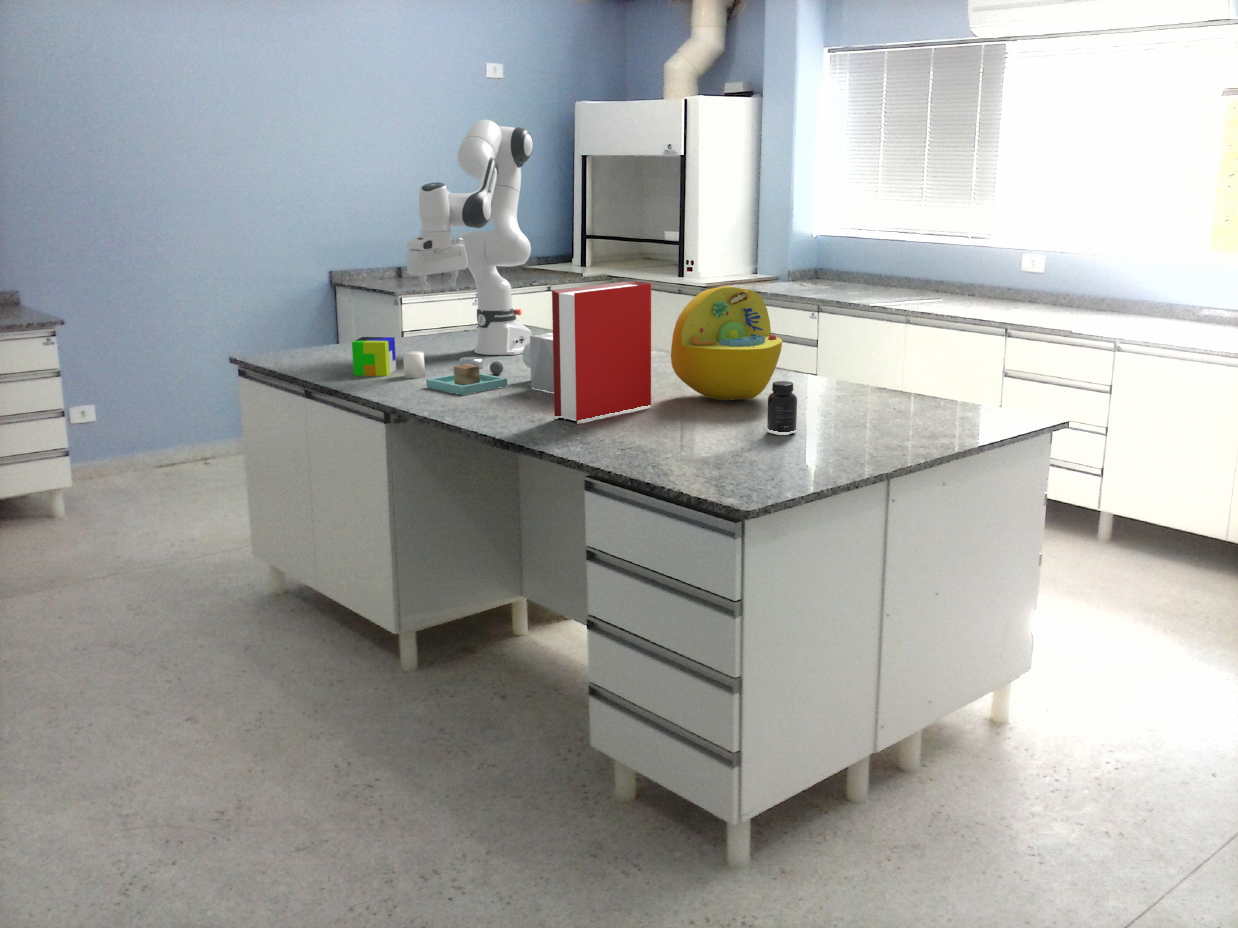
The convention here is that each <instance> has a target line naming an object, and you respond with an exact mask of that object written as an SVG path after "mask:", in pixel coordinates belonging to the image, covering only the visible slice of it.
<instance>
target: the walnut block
mask: <svg viewBox="0 0 1238 928" xmlns="http://www.w3.org/2000/svg"><path fill="white" fill-rule="evenodd" d="M479 373H480V369H479V366H476V365H470V364H465V365H460V364H459V365H454V366H453V374H454V384H458V385H462V386H465V385H470V384H475V383H480V377H479Z"/></svg>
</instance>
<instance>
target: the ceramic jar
mask: <svg viewBox="0 0 1238 928" xmlns="http://www.w3.org/2000/svg"><path fill="white" fill-rule="evenodd" d="M402 358H403V376H404V377H403V378H404V379H410V378H412V379H415V378H416V379H422V378H425V377H426V372H425V371H426V368H425V367H426V366H425V352H423V351H417V350H416V351H412V350H411V351H406V352H403V353H402Z"/></svg>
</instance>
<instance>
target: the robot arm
mask: <svg viewBox="0 0 1238 928" xmlns="http://www.w3.org/2000/svg"><path fill="white" fill-rule="evenodd" d="M533 148H534V140H533V136H532V135H531V133H530V131H529V130H528V129H525V128H523V127H520V126H519V127H518V126H517V127H512V126H505V125H504V126H503V125H501V126H500V125H498V124H497V123H496V122H494V121H493V120H490V119H481V120H478V121H477V122H475V123H474V124H473V125H472V126H471V128H470V129H469V130H468V132H467V133H466V134H465V136H464V137H463V140H462V142H461V143H460V146H459V148H458V150H457V156H456V159H457V163H458V165H459V167H460V168H461V170H462V171H463V172H464V173H465V174H466V175H467V176H469V177H471V178H473V179H477V180H479V182H478V184H477V190H475V191H471V192H468V193H467V192H451V191H449V190H448V187H447V185H446V183H443V182H431V183H426V184H423V185H422V186H421V187H420V189H419V192H418V193H419V196H418V212H419V215H418V216H419V218H420V222H421V224H420V234H419V235H417V236H415V237H414V238H412V239H409V240H408V241H407V242H406V248H407V249H408V251H407V254H406V271H407V274H409V276H410V277H418V279H419V281H420V283H421V284H422V290H423V291H426V292H428V291H430V290H431V289H432V288H431V283H428V281H427V279H428V276H429V275H435V274H443V273H449V274H450V278H449V280H447V283H448V284H447V286H448V287H456V283H457V281H456V280H457V278H458V275H459V271H462V270H463V271H464V270H466V269H468V270H469V272H470V273H471V275H472V277H473V279H474V280H473V281H474V282H475V288H476V297H477V308H476V321H477V335H476V343H475V349H474V353H475V354H479V355H487V356H489V355H490V356H498V355H499V356H503V355H504V356H505V355H507V356H515V355H520V354H523V350H524V347H525V346H526V344H527V343H528V342H529V341H530V336H533V334H532V333H533V332H532V331H531V329H530V328H528V327H527V326H525V325H524V324H523V323H522V322H520V321H519V320H518V319H517V316H521V315H522V314H523V310H522V309H521V308H515V309H513V304H512V303H513V301H512V300H513V299H512V285H511V283H510V282H509V281H508V280H507V279H506V278H504V277H503V276H502V275H500V273H499V271H498V270H497V267H508V268H509V267H517V266H521V265H524V264H526V263H527V262H528V261H529V258H530V256H531V252H532V246H531V243H530V240H529V239H528V237H527V236H526V235H525V234H524V233H523V232H522V230H521V229H520V226H519V223H518V206H519V200H520V195H521V194H520V193H521V186H522V185H521V184H522V167H523V166H524V165H525V163H526V162H528V160H529V158H530V157H531V155H532V154H533ZM490 221H491V222H493V230H492V231H489V230H473V231H467V232H463V233H461V234H460V235H459V236H458V237H456V238H452V237H453V236H452V227H464V228H465V227H466V228H467V227H468V228H474V229H475V228H476V229H481V228H483V227H485V226H486V225H487V224H488V223H489V222H490Z"/></svg>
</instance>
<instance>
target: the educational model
mask: <svg viewBox="0 0 1238 928" xmlns="http://www.w3.org/2000/svg"><path fill="white" fill-rule="evenodd" d="M671 339H672V340H671V348H670V363H671V367H672V370H673V372H674V373H675V375H676V376H677V377H678V379H680V380H681V381H682V382H683V383H684V385H687V387H689V388H691V389H692V390H694V391H695V392H696V393H698V394H699V395H702V396H704V398H705V397H706V398H708V399H713V400H716V399H717V400H716V401H724V400H729V401H737V400H736V399H744V400H750V399H754V398H756V397H758V396H759V395H761V393H762V392H763V391H764V390H765V389H766V387H767V386H768V384H769V383H770V381H771V379H772V377H773V374H774V372H775V370H776V367H777V365H778V361H779V359H780V355H781V352H782V346H783V339H782V338H781V337H778V336H777V335H775V334H772V329H771V321H770V316H769V311H768V308H767V306H766V303H765V301H764V299H763V298H762V296H761V295H760V294H759V293H758V292H756V291H754V290H751V289H747V288H743V287H742V288H741V287H735V286H730V285H729V286H727V285H726V286H724V285H723V286H720V287H719V286H718V287H714V288H709V289H705V290H703V291H700V292H699V293H698V294H696V295H695V296H694V297H693V298H692V299H691V300H690V301H688V303H687V304H686V306H684V308H683V309H682V311H681V312H680V313H679V315H678V317H677V319H676V322H675V325H674V329H673V333H672V338H671Z"/></svg>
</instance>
